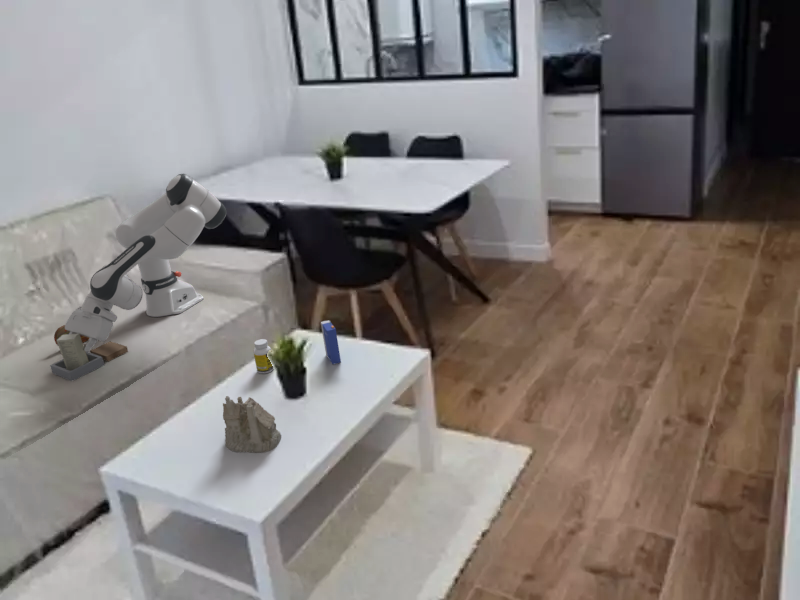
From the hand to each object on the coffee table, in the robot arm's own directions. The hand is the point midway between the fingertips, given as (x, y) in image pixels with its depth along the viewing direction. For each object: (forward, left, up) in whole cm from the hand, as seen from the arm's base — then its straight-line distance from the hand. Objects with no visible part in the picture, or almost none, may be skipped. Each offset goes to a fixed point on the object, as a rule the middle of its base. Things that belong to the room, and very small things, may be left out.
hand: (77, 348), depth 246 cm
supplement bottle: (-27, +60, -7) cm, 66 cm away
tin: (-10, -21, -7) cm, 24 cm away
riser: (-10, -1, -7) cm, 13 cm away
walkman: (-42, +75, -7) cm, 86 cm away
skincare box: (+1, -1, -7) cm, 7 cm away
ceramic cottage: (+2, +86, -7) cm, 86 cm away
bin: (+2, -1, -7) cm, 7 cm away
